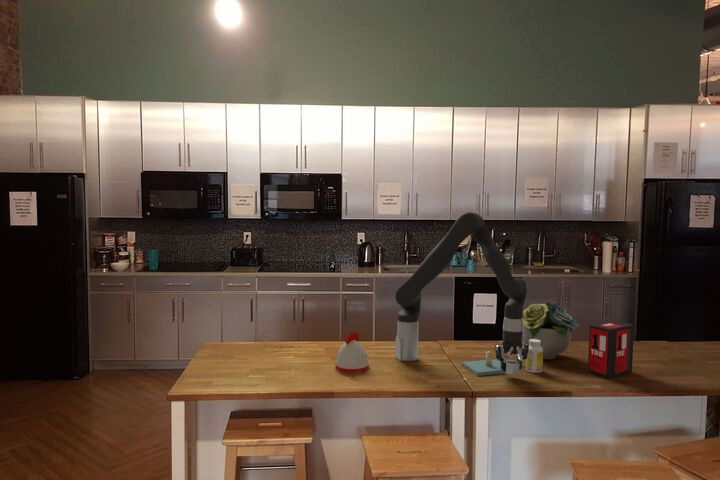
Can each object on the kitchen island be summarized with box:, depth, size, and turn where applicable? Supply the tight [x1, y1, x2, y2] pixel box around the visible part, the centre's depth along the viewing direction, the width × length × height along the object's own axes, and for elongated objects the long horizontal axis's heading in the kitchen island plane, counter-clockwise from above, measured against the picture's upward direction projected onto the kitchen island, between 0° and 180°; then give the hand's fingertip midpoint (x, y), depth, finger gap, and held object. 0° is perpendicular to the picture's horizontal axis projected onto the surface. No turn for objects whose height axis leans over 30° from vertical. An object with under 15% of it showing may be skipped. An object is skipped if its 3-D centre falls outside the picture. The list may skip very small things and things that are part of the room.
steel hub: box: [503, 359, 521, 376], centre depth 212 cm, size 6×6×4 cm
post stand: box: [461, 350, 506, 377], centre depth 224 cm, size 18×14×8 cm
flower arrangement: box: [522, 302, 580, 360], centre depth 241 cm, size 25×25×24 cm
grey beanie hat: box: [335, 331, 370, 373], centre depth 225 cm, size 14×14×15 cm
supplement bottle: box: [525, 339, 544, 374], centre depth 222 cm, size 7×7×13 cm
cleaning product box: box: [587, 320, 635, 380], centre depth 220 cm, size 16×9×20 cm, turn 122°
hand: (511, 370), depth 213 cm, fingers closed on steel hub, 6 cm apart
